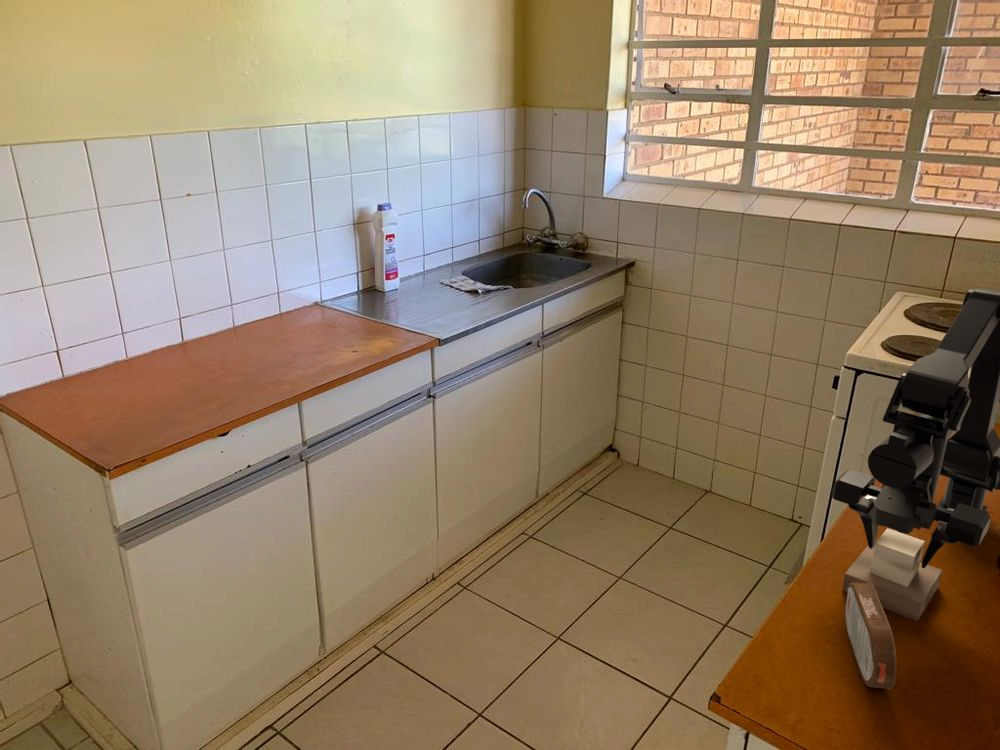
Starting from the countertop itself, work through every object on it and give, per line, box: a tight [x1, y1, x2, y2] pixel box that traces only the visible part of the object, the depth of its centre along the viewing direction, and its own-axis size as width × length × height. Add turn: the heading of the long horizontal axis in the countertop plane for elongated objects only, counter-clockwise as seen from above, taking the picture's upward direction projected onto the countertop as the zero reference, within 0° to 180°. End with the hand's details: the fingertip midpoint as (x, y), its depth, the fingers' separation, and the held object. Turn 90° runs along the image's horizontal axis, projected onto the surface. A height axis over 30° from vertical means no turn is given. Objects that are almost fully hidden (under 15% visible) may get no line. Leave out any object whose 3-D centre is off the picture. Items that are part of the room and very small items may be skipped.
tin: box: [844, 582, 897, 690], centre depth 94 cm, size 15×3×8 cm, turn 168°
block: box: [870, 527, 926, 587], centre depth 107 cm, size 5×5×5 cm
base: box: [841, 545, 943, 622], centre depth 108 cm, size 10×10×3 cm
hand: (897, 556), depth 107 cm, fingers open, 7 cm apart
